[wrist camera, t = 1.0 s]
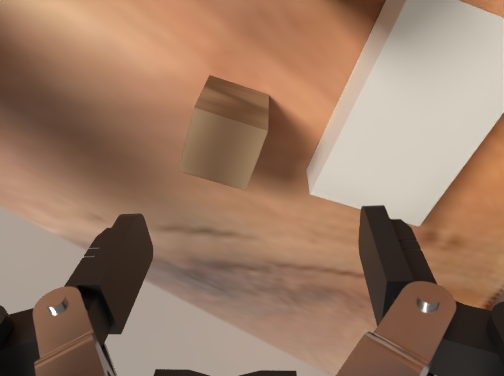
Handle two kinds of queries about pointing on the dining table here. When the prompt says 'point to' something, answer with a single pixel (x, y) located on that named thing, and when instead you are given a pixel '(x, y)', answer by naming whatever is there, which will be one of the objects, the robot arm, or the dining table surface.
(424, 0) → the white block
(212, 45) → the dining table surface
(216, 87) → the walnut block
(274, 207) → the dining table surface
